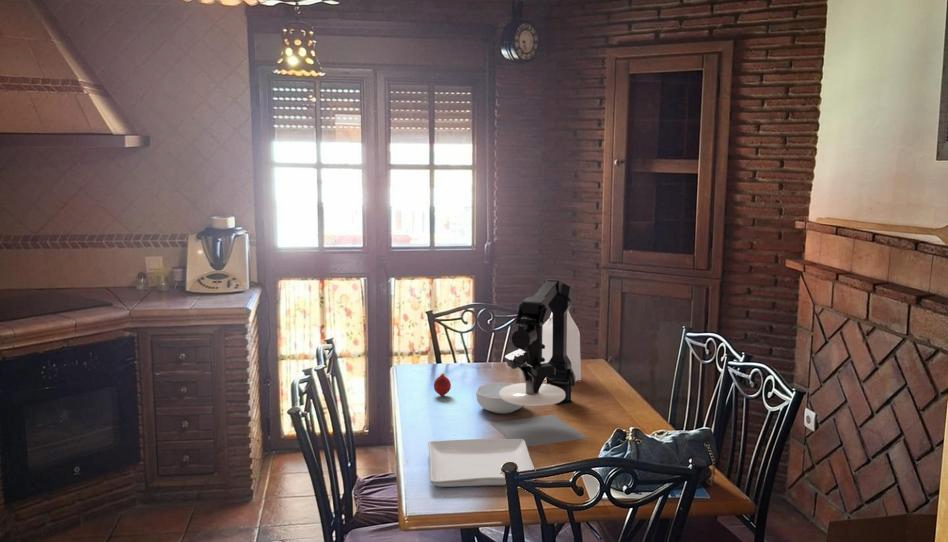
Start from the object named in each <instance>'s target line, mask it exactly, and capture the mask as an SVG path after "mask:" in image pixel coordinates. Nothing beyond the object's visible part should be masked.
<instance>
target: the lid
mask: <svg viewBox="0 0 948 542" xmlns="http://www.w3.org/2000/svg"><path fill="white" fill-rule="evenodd" d="M499 396H500V398H501V399H502V400H504V401H506V402H508V403H511V404H516V405H521V406H523V407H547V406H552V405H557V404H556V403H559V402H561V401H563V400H564V399H565V391H564V390H562V389H561V388H559V387H556V386H553V385H551V384H547V383H542V385H541V387H540V389H539V391H538V393H534V391H533V383H532V380H527V381H526V382H520V383H514V384H513V385H509V386H506V387H504V388H502V389H501V390H500V392H499Z"/></svg>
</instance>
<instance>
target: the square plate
mask: <svg viewBox="0 0 948 542" xmlns="http://www.w3.org/2000/svg"><path fill="white" fill-rule="evenodd" d="M427 447H428V454H429V455H428V456H429V482H430V483H431V484H433V485H434V486H436V487H442V488H447V487H449V488H452V487H474V486H475V487H479V486H480V487H481V486H483V487H485V486H506V485H505V478H504V476H503V474H500V473H501V465H502V464H504V463H506V462H514V463H516V464H517V466H518V470H519V471H523V470H532V469H535V470H536V468H535V467H534V463H533V461H532V458H531V456H530V453H529V450H528V447H527V446H526V443H525V441H524V440H523V439H508V438H477V439H476V438H475V439H474V438H473V439H472V438H471V439H451V440H450V439H448V440H447V439H446V440H436V441H435V440H433V441H429V442H428V444H427Z"/></svg>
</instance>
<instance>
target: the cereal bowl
mask: <svg viewBox="0 0 948 542" xmlns="http://www.w3.org/2000/svg"><path fill="white" fill-rule="evenodd" d="M513 384H515V383H512V382H492V383H486V384H483V385H480V386H478V387H477V389H476V392H475V394H476V401H477V403H478V404H479V406H480V407H482V408H483V409H484V410H486V411H489V412H492V413H496V414H511V413H513V412H515V411H517V410H519V409H521V408H522V407H524V406H521V405H516V404H511V403H508V402H506V401H504V400H502V399H501V398H500V396H499V392H500V390H501V389H502V388H504V387H506V386H509V385H513Z"/></svg>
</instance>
